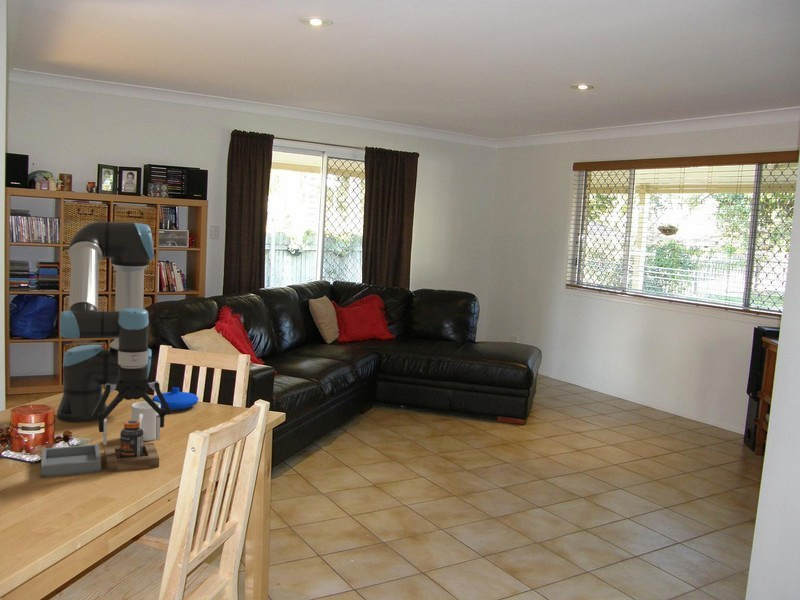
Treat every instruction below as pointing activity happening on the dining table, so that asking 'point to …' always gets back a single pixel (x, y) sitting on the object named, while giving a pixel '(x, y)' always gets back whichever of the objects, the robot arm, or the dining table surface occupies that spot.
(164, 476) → the dining table surface
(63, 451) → the tray
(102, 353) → the robot arm
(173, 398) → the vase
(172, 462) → the dining table surface
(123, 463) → the socket frame
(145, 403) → the mug
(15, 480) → the dining table surface
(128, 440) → the pill bottle
